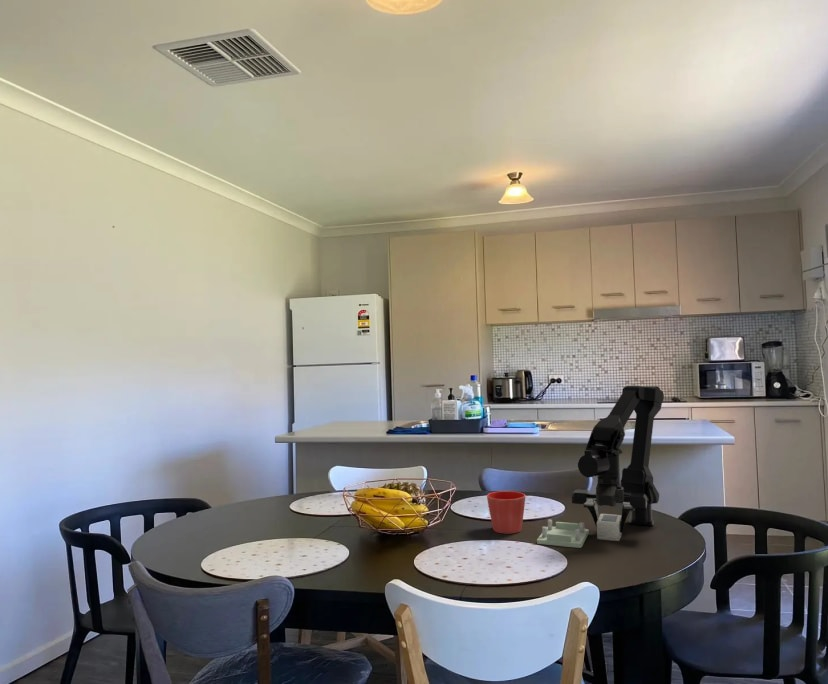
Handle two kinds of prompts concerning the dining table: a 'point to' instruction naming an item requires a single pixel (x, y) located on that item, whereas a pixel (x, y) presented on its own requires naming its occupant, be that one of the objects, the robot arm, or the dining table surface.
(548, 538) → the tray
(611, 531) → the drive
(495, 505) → the flower pot
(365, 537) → the dining table surface
